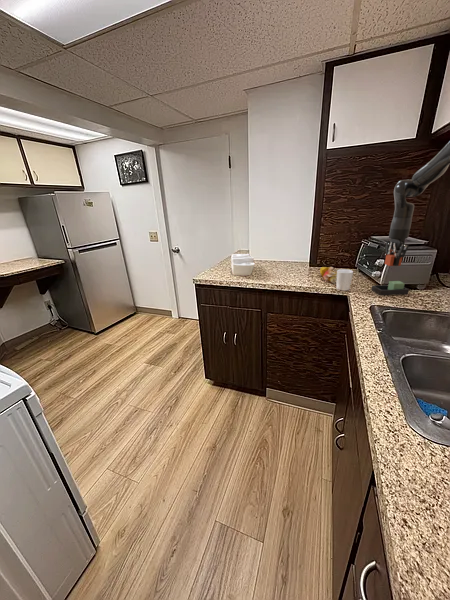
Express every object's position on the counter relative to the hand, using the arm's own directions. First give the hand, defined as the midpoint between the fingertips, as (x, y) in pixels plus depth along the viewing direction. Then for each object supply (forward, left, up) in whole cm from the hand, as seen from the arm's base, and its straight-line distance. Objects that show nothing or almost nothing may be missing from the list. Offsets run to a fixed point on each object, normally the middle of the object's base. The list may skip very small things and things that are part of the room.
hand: (392, 264), depth 119 cm
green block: (-4, -5, -15) cm, 16 cm away
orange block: (0, 0, 0) cm, 0 cm away
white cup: (+20, -2, -16) cm, 26 cm away
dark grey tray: (-2, -4, -15) cm, 16 cm away
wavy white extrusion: (+88, -23, -16) cm, 92 cm away
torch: (+29, -19, -16) cm, 38 cm away
